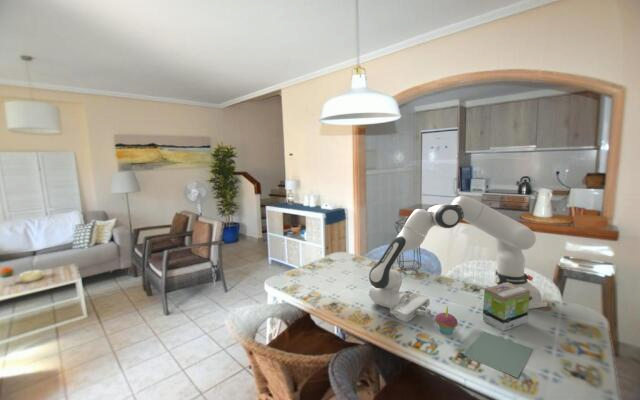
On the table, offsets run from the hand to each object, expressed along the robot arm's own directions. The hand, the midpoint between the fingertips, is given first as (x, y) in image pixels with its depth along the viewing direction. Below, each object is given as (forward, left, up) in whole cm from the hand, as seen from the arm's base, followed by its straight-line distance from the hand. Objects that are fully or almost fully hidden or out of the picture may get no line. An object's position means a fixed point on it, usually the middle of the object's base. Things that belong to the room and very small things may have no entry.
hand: (429, 313), depth 126 cm
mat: (-17, +18, -5) cm, 25 cm away
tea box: (-32, -1, -5) cm, 32 cm away
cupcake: (-5, +5, -5) cm, 9 cm away
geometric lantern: (-7, -59, -5) cm, 59 cm away
